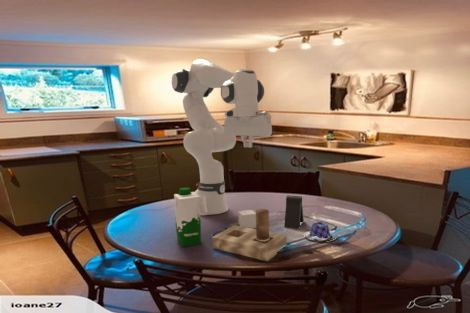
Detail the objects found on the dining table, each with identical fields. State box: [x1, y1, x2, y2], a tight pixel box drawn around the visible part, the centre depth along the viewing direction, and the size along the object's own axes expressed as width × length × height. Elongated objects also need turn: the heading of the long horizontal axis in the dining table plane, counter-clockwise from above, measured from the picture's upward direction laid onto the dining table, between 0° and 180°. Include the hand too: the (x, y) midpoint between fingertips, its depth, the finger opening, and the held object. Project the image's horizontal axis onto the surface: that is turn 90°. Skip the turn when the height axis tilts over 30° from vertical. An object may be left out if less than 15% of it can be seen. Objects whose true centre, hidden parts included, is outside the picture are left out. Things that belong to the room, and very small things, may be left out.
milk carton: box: [173, 186, 202, 248], centre depth 131 cm, size 9×9×20 cm
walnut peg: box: [255, 208, 270, 243], centre depth 122 cm, size 5×5×14 cm
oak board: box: [211, 224, 288, 262], centre depth 125 cm, size 22×14×4 cm, turn 56°
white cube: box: [237, 209, 256, 229], centre depth 147 cm, size 6×6×6 cm
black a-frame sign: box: [284, 195, 305, 229], centre depth 146 cm, size 9×6×12 cm, turn 156°
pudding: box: [303, 221, 337, 243], centre depth 133 cm, size 12×12×5 cm
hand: (248, 147), depth 140 cm, fingers closed
